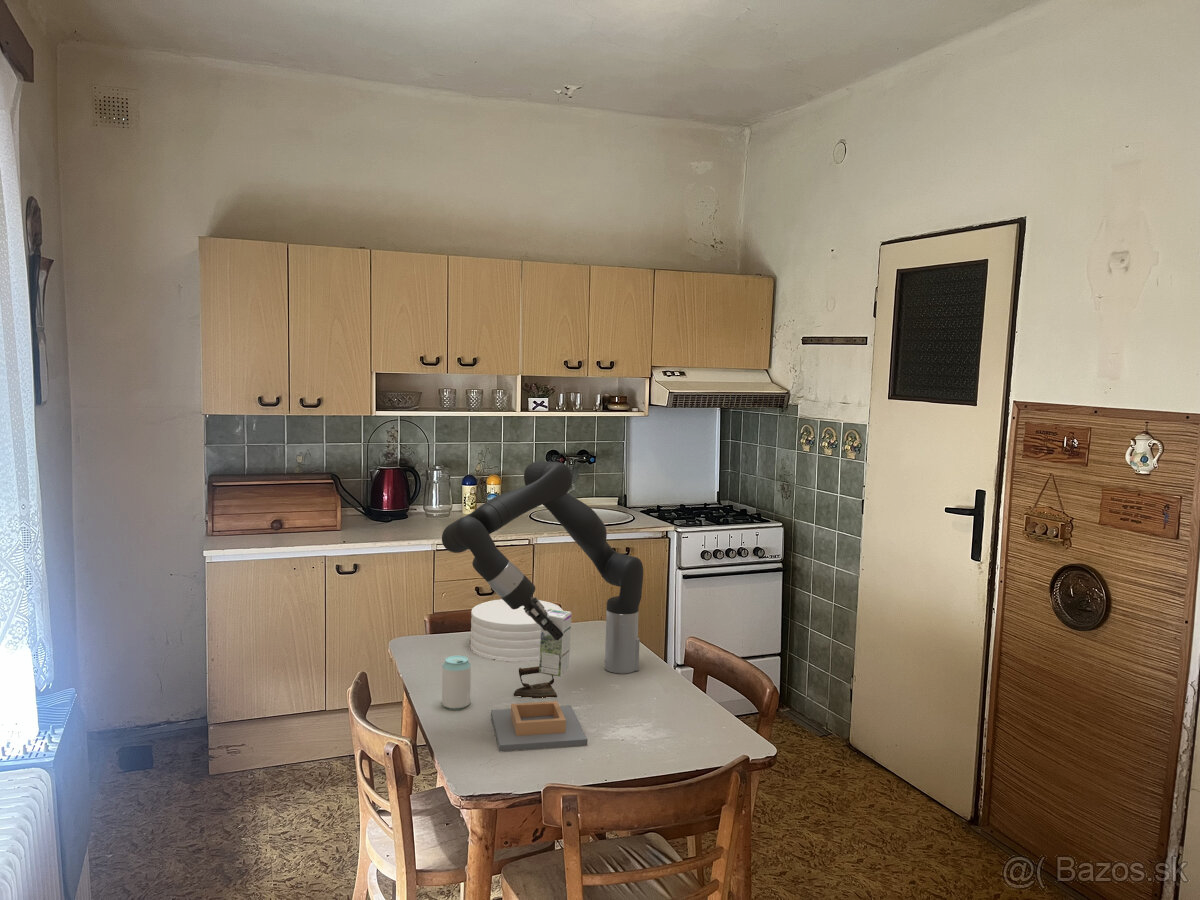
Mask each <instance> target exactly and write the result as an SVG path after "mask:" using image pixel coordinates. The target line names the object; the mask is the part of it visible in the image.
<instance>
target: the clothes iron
mask: <svg viewBox="0 0 1200 900" xmlns="http://www.w3.org/2000/svg"><path fill="white" fill-rule="evenodd" d="M533 674H540V673H539V665H537V666H530V667H524V668H522V667H519V668H518V676H519V680H520V682H521V685H522V686H523V687H519V688H516V689H515V691H514V692H513V697H516V696H521V697H520V698H523V697H532V698H531V699H547V698H546V697H554V698H558V693H556V691H555V689H554V688H553V686H552V685H553V684H554V683H555V677H554V676H553V675H551V680H550V681H548V682H542V683H540V682H539V683H536V684H530V683H526V682H525V683H524V682H523V680H522V677H523V676H527V675H533ZM542 697H543V698H542Z"/></svg>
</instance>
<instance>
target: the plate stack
mask: <svg viewBox="0 0 1200 900" xmlns="http://www.w3.org/2000/svg"><path fill="white" fill-rule="evenodd" d="M538 600H539V601H540V603H541V604H542V605H543V606H544V609H545V610H546V611H547V610H549V609H554V610H561V611H564V610H563V609H562V608H561V606H559V605H558V604H555V603H553V602H549V601H546V600H541V599H538ZM523 608H524V606H521V607H520V608H518V609H512V608H511V607H510V606H509V605H508V604H507V603H506V602H505V601H504V600H503V599H502V598H500V599H493V600H489V601H485V602H482V603H479V604H477V605H475V606H474V607H472V609H471V611H470V612H471V613H470V615H471V619H470V624H471V626H470V627H471V628H470V633H471V634H470V641H471V642H470V650H471V649H472V650H473V651H474V652H475V653H477V654H478V655H477V654H476V655H477V656H479V655H481V656H484V657H487V658H490V659H489V660H491V659H496V660H495V661H497V660H504V661H503V662H506V661H526V662H530V661H529V660H535V661H539V660H538V659H540V639H541V626H540V625H539V624H537V623H536V622H535V621H534V620H533V619H532V618H531V617H530V616H528V615H527V614H526V612H525V610H524V609H523ZM472 650H471V651H472ZM473 651H472V652H473ZM474 652H473V653H474ZM475 653H474V654H475ZM481 656H480V657H481ZM484 657H483V658H484ZM487 658H486V659H487Z"/></svg>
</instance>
